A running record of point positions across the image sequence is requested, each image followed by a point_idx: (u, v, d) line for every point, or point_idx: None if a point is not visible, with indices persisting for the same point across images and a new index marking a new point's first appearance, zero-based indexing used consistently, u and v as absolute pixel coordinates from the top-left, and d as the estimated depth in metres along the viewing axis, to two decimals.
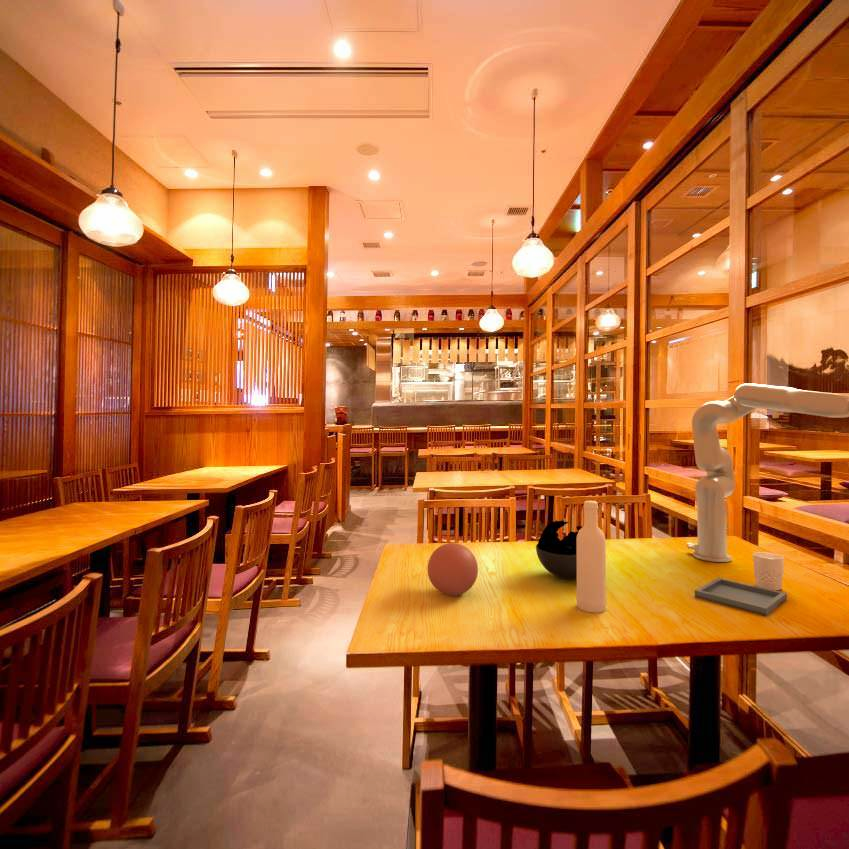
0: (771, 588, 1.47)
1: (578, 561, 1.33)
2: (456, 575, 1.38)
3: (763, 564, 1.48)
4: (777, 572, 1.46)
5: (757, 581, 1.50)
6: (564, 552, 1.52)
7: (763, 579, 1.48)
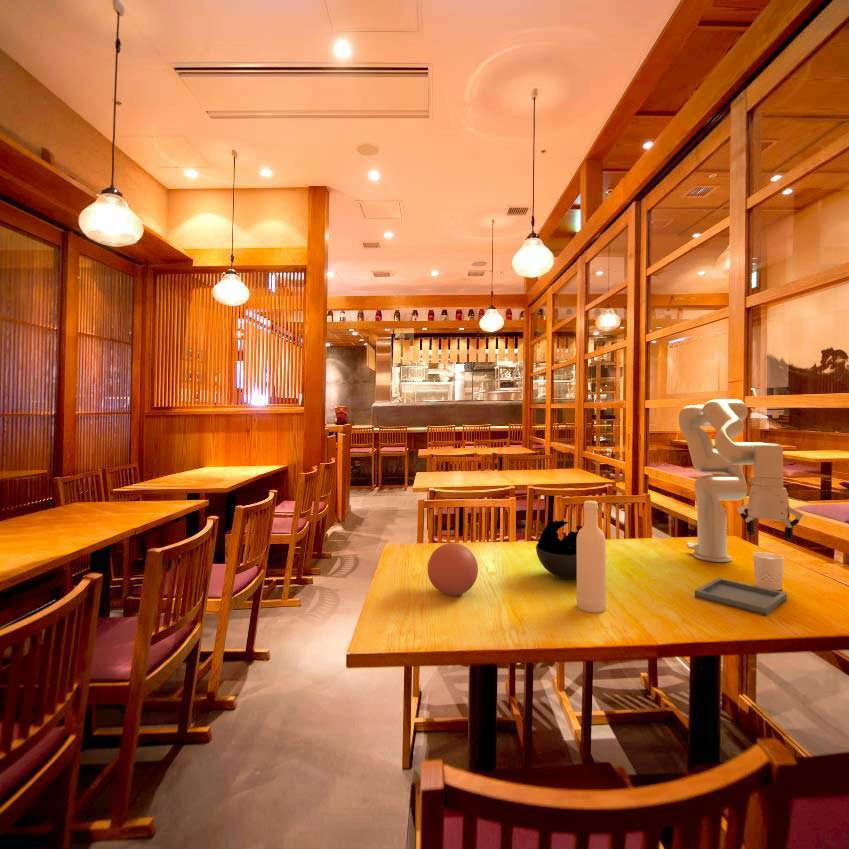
0: (771, 588, 1.47)
1: (578, 561, 1.33)
2: (456, 575, 1.38)
3: (763, 564, 1.48)
4: (777, 572, 1.46)
5: (757, 581, 1.50)
6: (564, 552, 1.52)
7: (763, 579, 1.48)
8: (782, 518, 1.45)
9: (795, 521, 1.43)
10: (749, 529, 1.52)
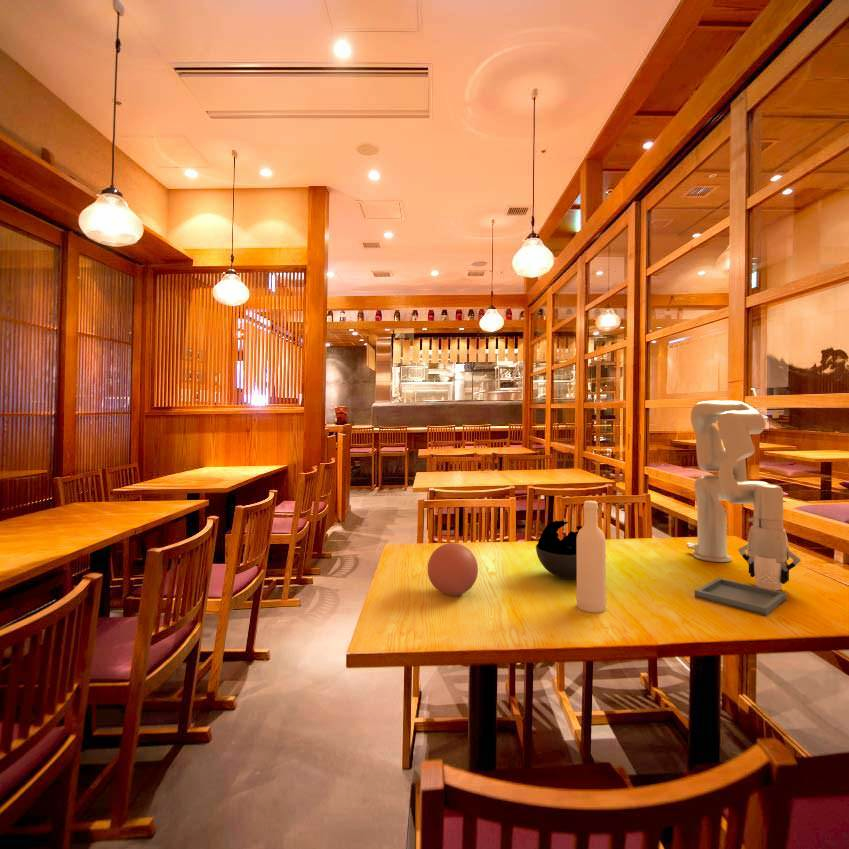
0: (771, 588, 1.47)
1: (578, 561, 1.33)
2: (456, 575, 1.38)
3: (763, 564, 1.48)
4: (777, 572, 1.46)
5: (757, 581, 1.50)
6: (564, 552, 1.52)
7: (763, 579, 1.48)
8: (781, 561, 1.45)
9: (791, 565, 1.44)
10: (751, 571, 1.52)
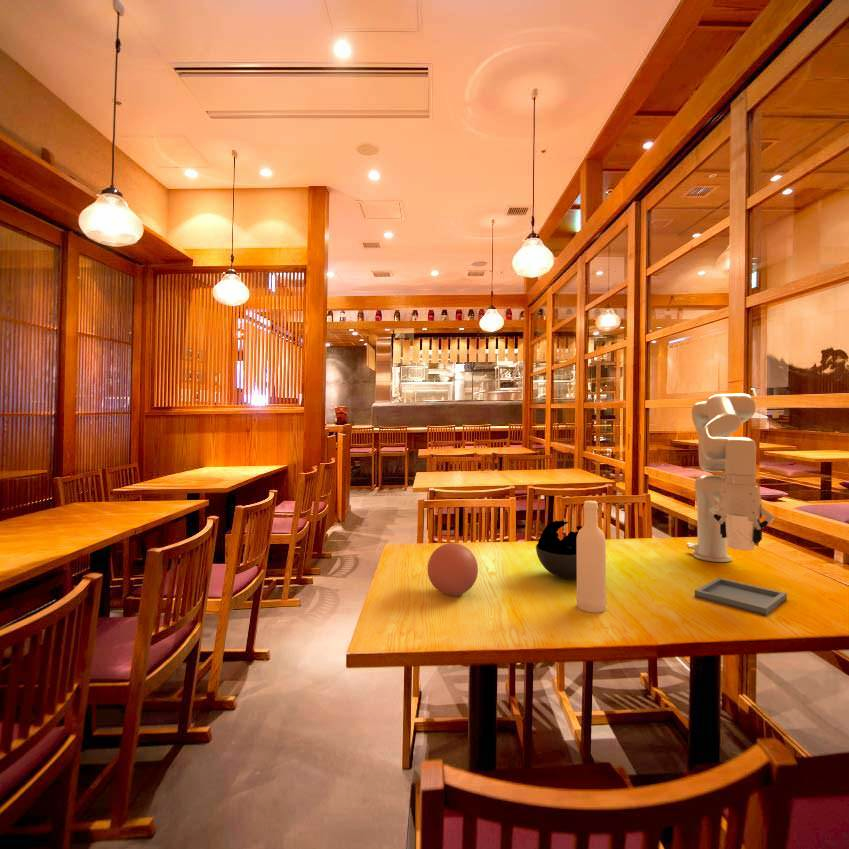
0: (743, 548, 1.37)
1: (578, 561, 1.33)
2: (456, 575, 1.38)
3: (734, 523, 1.38)
4: (749, 531, 1.37)
5: (729, 541, 1.40)
6: (564, 552, 1.52)
7: (735, 539, 1.38)
8: (754, 518, 1.35)
9: (764, 523, 1.35)
10: (722, 531, 1.43)
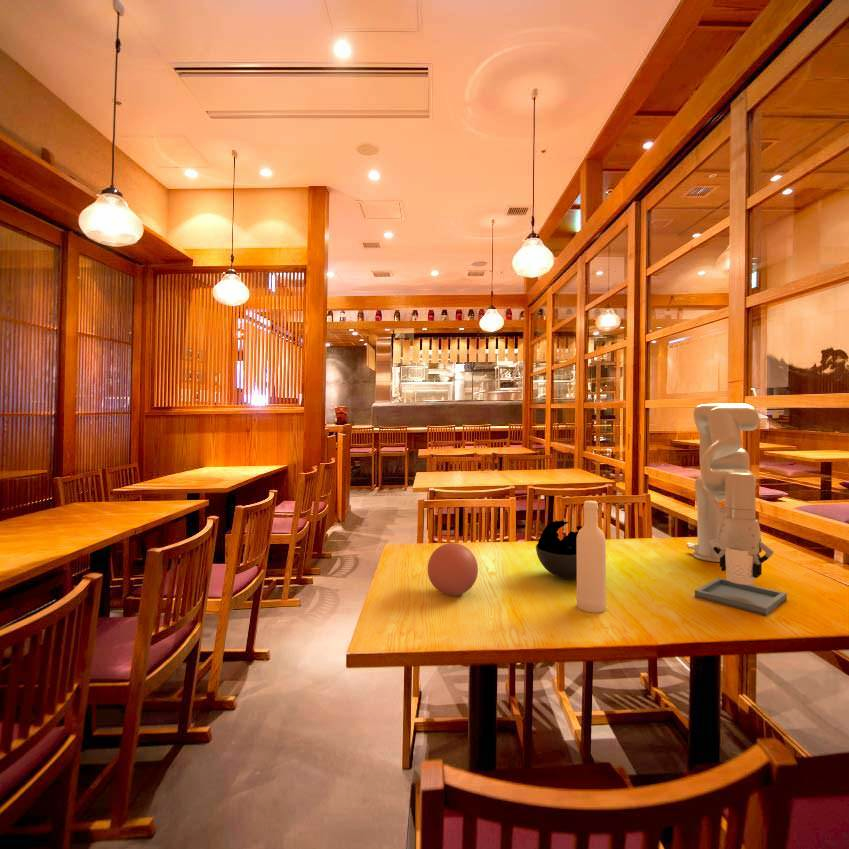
0: (742, 582, 1.37)
1: (578, 561, 1.33)
2: (456, 575, 1.38)
3: (734, 557, 1.38)
4: (748, 565, 1.36)
5: (728, 575, 1.40)
6: (564, 552, 1.52)
7: (734, 573, 1.38)
8: (753, 553, 1.35)
9: (764, 558, 1.35)
10: (722, 565, 1.43)
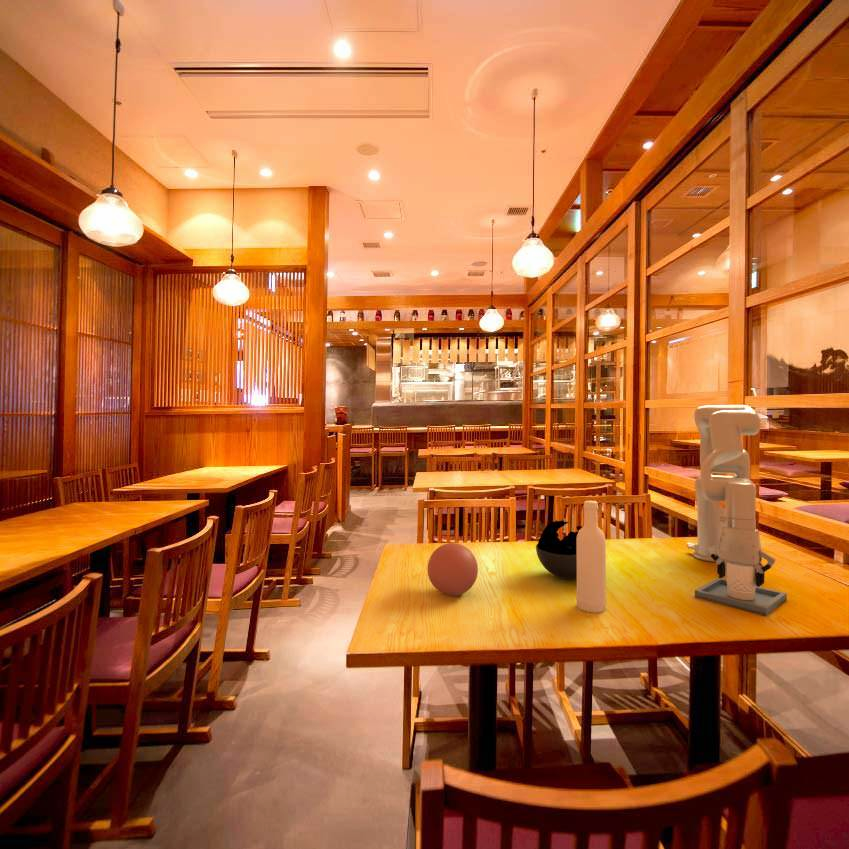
0: (743, 598, 1.37)
1: (578, 561, 1.33)
2: (456, 575, 1.38)
3: (734, 572, 1.38)
4: (749, 581, 1.37)
5: (729, 590, 1.40)
6: (564, 552, 1.52)
7: (735, 588, 1.38)
8: (753, 563, 1.35)
9: (767, 567, 1.34)
10: (719, 572, 1.43)
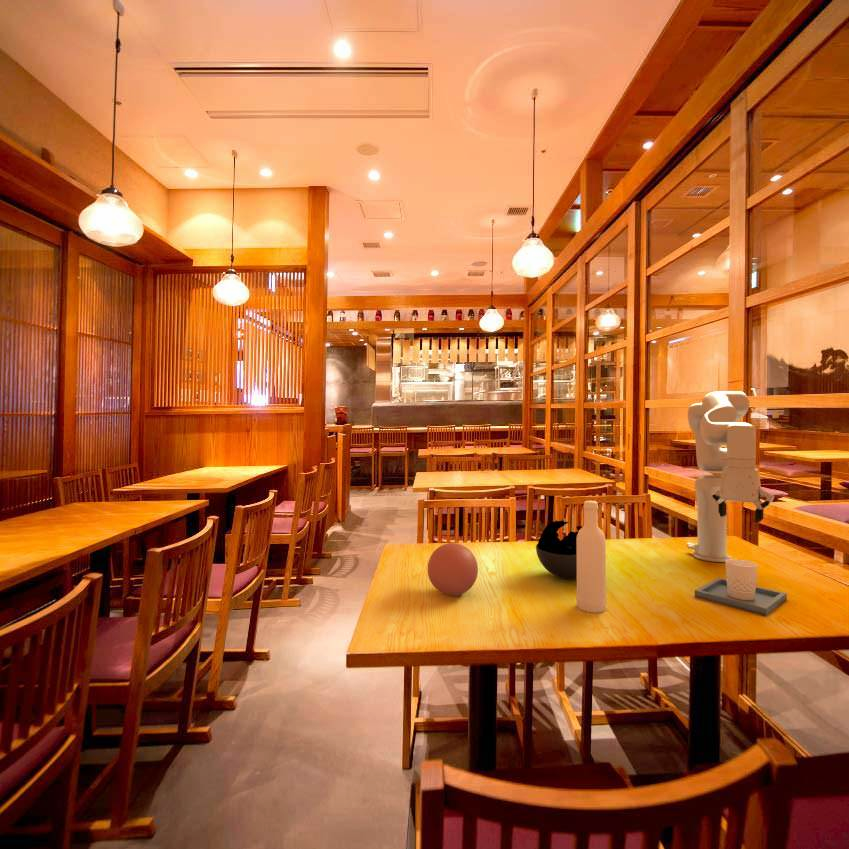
0: (743, 598, 1.37)
1: (578, 561, 1.33)
2: (456, 575, 1.38)
3: (734, 572, 1.38)
4: (749, 581, 1.37)
5: (729, 590, 1.40)
6: (564, 552, 1.52)
7: (735, 588, 1.38)
8: (753, 500, 1.42)
9: (766, 503, 1.41)
10: (720, 511, 1.50)
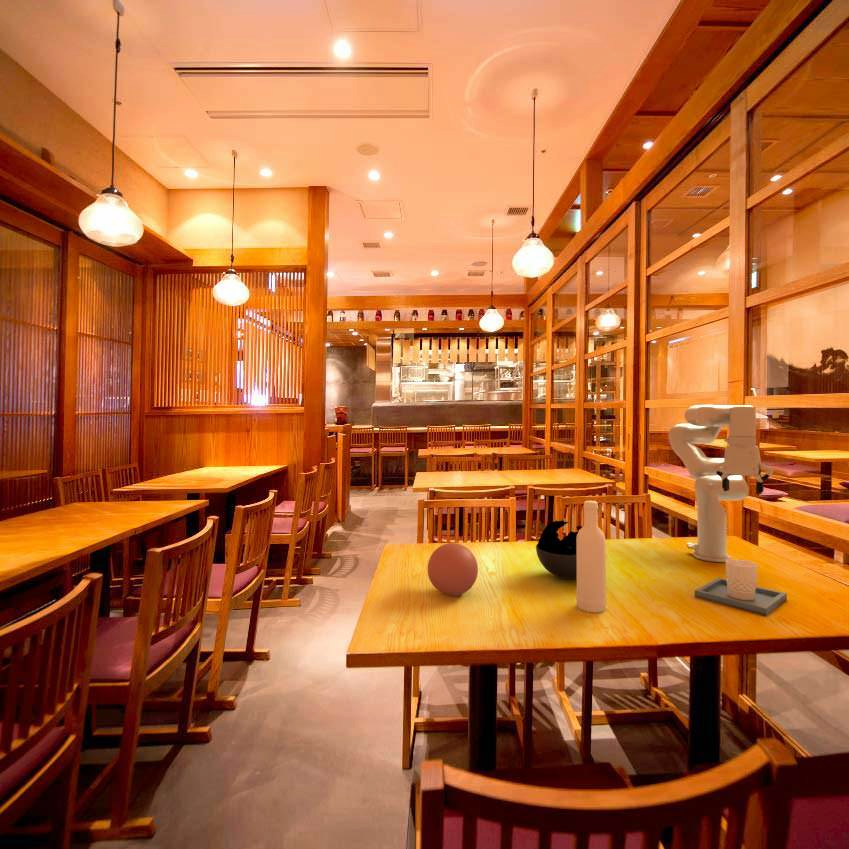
0: (743, 598, 1.37)
1: (578, 561, 1.33)
2: (456, 575, 1.38)
3: (734, 572, 1.38)
4: (749, 581, 1.37)
5: (729, 590, 1.40)
6: (564, 552, 1.52)
7: (735, 588, 1.38)
8: (754, 473, 1.56)
9: (765, 476, 1.55)
10: (724, 485, 1.63)
